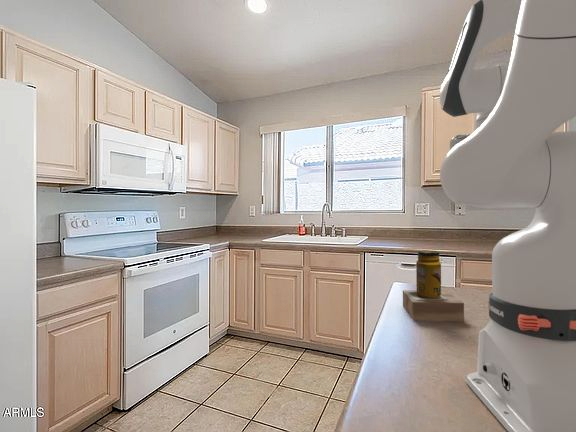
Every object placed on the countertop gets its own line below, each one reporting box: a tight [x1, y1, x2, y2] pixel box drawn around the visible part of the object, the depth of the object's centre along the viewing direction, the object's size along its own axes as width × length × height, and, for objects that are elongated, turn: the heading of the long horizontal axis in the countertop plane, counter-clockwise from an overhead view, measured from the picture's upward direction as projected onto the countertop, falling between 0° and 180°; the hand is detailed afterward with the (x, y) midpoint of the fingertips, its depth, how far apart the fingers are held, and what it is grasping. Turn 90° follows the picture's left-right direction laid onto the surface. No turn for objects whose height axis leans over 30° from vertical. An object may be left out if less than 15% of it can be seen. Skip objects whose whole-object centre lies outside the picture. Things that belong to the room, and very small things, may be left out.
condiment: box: [404, 249, 448, 300], centre depth 87 cm, size 7×8×12 cm
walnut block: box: [402, 289, 465, 323], centre depth 87 cm, size 12×12×5 cm
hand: (496, 188), depth 81 cm, fingers open, 8 cm apart
